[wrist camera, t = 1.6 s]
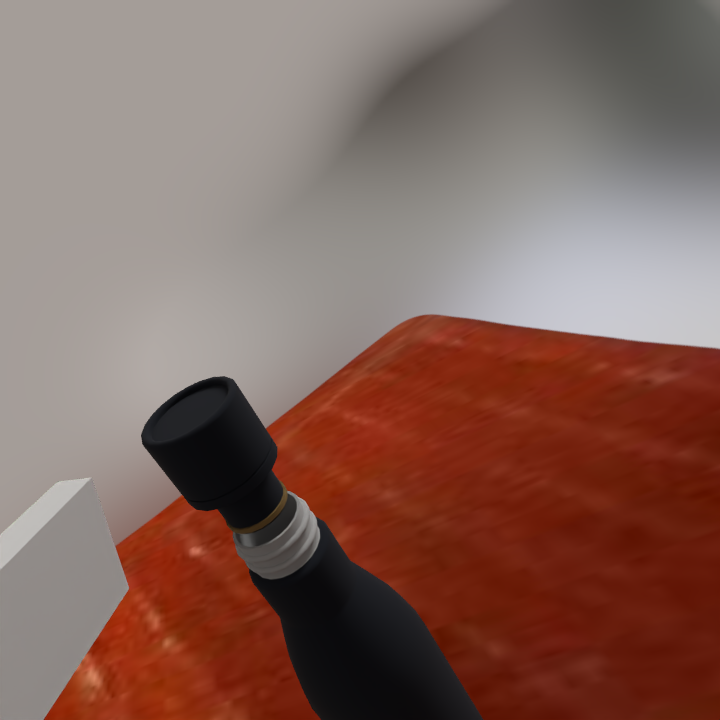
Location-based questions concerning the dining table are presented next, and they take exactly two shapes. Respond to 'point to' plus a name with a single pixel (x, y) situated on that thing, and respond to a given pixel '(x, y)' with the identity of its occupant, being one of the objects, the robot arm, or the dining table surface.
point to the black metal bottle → (303, 568)
